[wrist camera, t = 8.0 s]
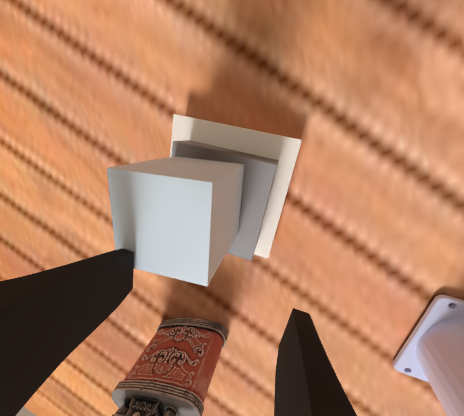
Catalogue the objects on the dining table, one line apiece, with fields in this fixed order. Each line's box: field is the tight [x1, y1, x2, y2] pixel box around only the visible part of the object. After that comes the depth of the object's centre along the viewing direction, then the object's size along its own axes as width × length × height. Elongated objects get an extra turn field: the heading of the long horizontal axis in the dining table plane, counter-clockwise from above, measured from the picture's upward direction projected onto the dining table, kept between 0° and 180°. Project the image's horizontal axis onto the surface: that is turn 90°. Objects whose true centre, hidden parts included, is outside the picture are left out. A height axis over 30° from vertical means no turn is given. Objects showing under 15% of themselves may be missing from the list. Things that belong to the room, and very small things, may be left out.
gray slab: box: [171, 140, 279, 261], centre depth 15 cm, size 6×6×2 cm
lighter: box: [112, 318, 228, 416], centre depth 20 cm, size 8×3×10 cm, turn 101°
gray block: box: [107, 156, 244, 286], centre depth 12 cm, size 4×4×6 cm
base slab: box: [170, 114, 302, 258], centre depth 18 cm, size 9×9×2 cm
